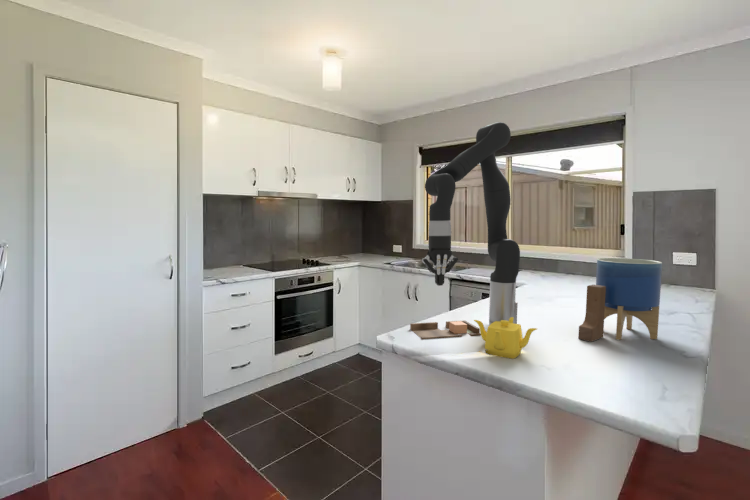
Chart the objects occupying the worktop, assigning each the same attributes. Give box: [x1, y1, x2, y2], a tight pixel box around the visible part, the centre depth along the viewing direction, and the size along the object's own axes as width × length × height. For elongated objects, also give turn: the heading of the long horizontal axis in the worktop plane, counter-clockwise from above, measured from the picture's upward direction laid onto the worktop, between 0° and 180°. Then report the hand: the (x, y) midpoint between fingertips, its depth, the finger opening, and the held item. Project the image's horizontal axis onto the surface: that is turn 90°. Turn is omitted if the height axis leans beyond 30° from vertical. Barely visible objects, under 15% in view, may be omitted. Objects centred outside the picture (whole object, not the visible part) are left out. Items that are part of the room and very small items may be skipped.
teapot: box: [473, 317, 538, 360], centre depth 119 cm, size 15×14×10 cm
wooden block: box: [578, 284, 606, 343], centre depth 133 cm, size 9×4×18 cm, turn 127°
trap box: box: [409, 319, 481, 340], centre depth 134 cm, size 21×12×4 cm, turn 103°
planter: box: [595, 257, 663, 341], centre depth 138 cm, size 19×19×26 cm
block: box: [448, 320, 467, 334], centre depth 135 cm, size 4×4×3 cm
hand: (439, 285), depth 132 cm, fingers closed
